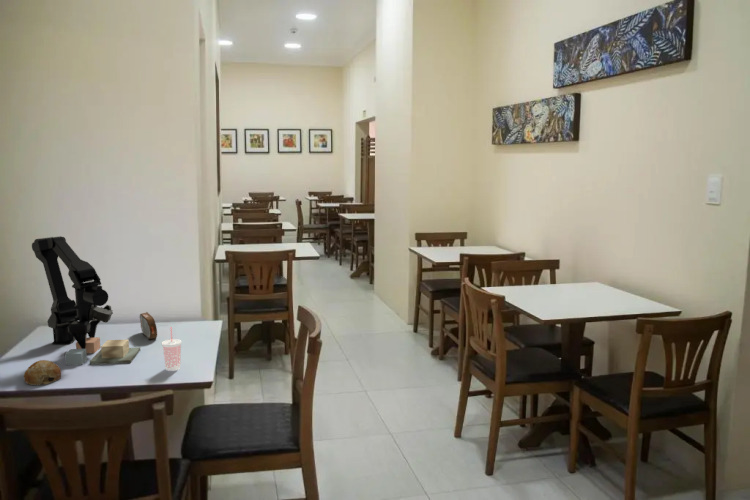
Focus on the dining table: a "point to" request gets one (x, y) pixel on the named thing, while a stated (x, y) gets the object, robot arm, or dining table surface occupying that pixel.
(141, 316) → the tin
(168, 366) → the beverage cup
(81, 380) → the dining table surface
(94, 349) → the terracotta brick
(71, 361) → the gray brick
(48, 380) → the bread roll
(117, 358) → the build board
